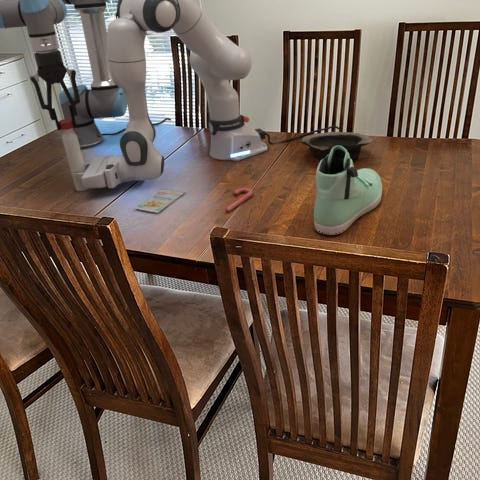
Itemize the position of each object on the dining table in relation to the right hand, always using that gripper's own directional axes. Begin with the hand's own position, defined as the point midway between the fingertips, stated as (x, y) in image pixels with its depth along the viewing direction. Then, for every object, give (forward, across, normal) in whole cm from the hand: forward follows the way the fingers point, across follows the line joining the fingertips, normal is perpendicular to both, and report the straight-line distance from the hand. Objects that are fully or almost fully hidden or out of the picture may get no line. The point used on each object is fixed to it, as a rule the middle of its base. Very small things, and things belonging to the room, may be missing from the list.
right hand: (75, 171), depth 162 cm
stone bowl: (-89, -11, +6) cm, 90 cm away
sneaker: (-86, +28, +6) cm, 91 cm away
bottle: (-1, 0, +6) cm, 6 cm away
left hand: (-1, 0, -15) cm, 15 cm away
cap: (-1, 0, -17) cm, 17 cm away
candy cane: (-54, +19, +6) cm, 57 cm away
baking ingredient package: (-30, +14, +6) cm, 33 cm away
